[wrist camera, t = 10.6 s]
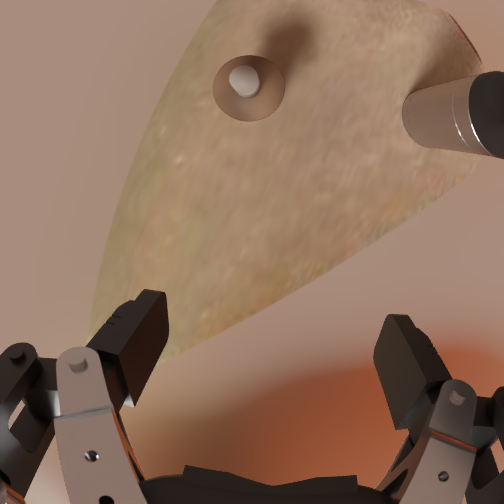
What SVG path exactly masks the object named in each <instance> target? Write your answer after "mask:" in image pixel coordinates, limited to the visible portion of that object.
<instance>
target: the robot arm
mask: <svg viewBox="0 0 504 504" xmlns="http://www.w3.org/2000/svg"><path fill="white" fill-rule="evenodd" d="M402 118H403V122H404V125H405V128H406V130H407V132H408V134H409V135H410V136H411V138H412V139H413V140H414V141H415V142H417V143H418V144H420V145H422V146H424V147H428V148H437V149H444V150H452V151H459V152H466V153H473V154H479V155H485V156H491V157H496V158H501V159H504V72H500V71H493V72H488V73H483V74H479V75H474V76H470V77H466V78H462V79H458V80H454V81H450V82H446V83H442V84H439V85H435V86H431V87H427V88H424V89H421V90H417V91H415V92H413V93H411V94H410V95H409V96H408V97H407V98H406V100H405V102H404V105H403V110H402ZM168 336H169V320H168V309H167V298H166V294H165V292H161V291H155V290H148V289H144V290H143V291H142V292H141V293H140V295H139V296H138V297H137V298H136V299H135V301H133V300H129V301H128V302H126V303H124V304H122V305H121V306H119V307H118V308H117V309H116V310H115V312H114V313H113V314H112V317H111V316H110V318H109V319H108V320H107V321H106V323H104V325H103V326H102V327H101V328H100V329H99V331H98V332H97V333H96V334H95V336H94V337H93V338H92V339H91V340H90V342H89V343H88V344H87V345H86V347H74V348H71V349H68V350H66V351H65V352H63V353H62V354H61V355H60V356H59V358H58V359H52V358H40V357H38V354H37V352H36V350H35V348H34V347H33V346H32V345H31V344H29V343H16V344H14V345H11V346H10V347H8V348H7V349H6V350H5V351H4V352H3V353H2V354H1V355H0V504H26V503H25V500H24V498H25V496H26V493H27V491H28V489H29V487H30V484H31V482H32V480H33V478H34V476H35V474H36V472H37V469H38V467H39V465H40V463H41V461H42V459H43V457H44V455H45V453H46V451H47V449H48V447H49V445H50V443H51V441H52V439H53V437H54V435H56V441H57V447H58V452H59V458H60V463H61V468H62V472H63V476H64V481H65V485H66V489H67V492H68V496H69V499H70V503H71V504H461V502H462V500H463V497H464V494H465V497H466V501H467V504H504V470H503V471H502V472H501V473H500V474H499V472H498V468H497V465H496V463H495V460H494V457H493V454H492V451H491V448H490V447H491V446H492V445H493V444H494V443H495V442H496V441H497V440H498V439H499V440H500V442H501V445H502V448H503V450H504V386H503V387H499V388H498V389H497V390H496V391H495V393H494V394H493V396H492V397H491V398H487V397H480V396H477V395H476V393H475V391H474V390H473V388H472V387H471V386H470V385H469V384H467V383H466V382H463V381H461V380H457V379H452V377H451V375H450V374H449V372H448V370H447V368H446V367H445V364H444V363H443V361H442V359H441V358H440V356H439V355H438V354H437V353H438V352H437V351H436V349H435V347H433V344H432V343H431V341H430V339H429V338H428V336H426V334H424V333H423V332H422V331H421V330H420V329H419V328H416V327H415V325H414V323H413V322H412V320H411V319H410V317H409V316H408V315H399V314H389V315H387V317H386V319H385V321H384V324H383V327H382V330H381V332H380V335H379V338H378V341H377V343H376V346H375V349H374V356H373V359H374V364H375V367H376V370H377V372H378V376H379V379H380V382H381V385H382V388H383V391H384V394H385V397H386V400H387V403H388V407H389V410H390V413H391V416H392V420H393V423H394V427H395V430H401V429H408V431H409V434H408V435H407V436H406V438H405V440H404V442H403V444H402V446H401V448H400V450H399V452H398V453H397V456H396V457H395V459H394V461H393V463H392V465H391V466H390V468H389V470H388V472H387V474H386V475H385V477H384V478H383V480H382V481H381V482H380V483H379V485H378V486H377V487H376V488H375V489H373V488H370V487H366V486H362V485H358V484H357V476H356V475H351V476H339V477H338V476H337V477H316V478H312V479H308V480H303V481H298V482H293V483H288V484H283V485H277V486H270V485H266V484H262V483H259V482H256V481H252V480H249V479H246V478H243V477H240V476H237V475H234V474H231V473H228V472H222V471H215V470H209V469H203V468H198V467H193V466H188V465H185V468H184V471H183V474H175V475H164V476H159V477H155V478H151V479H148V480H147V479H146V477H145V475H144V473H143V471H142V469H141V467H140V465H139V463H138V460H137V458H136V456H135V453H134V451H133V448H132V446H131V443H130V440H129V438H128V435H127V432H126V430H125V427H124V424H123V421H122V418H121V415H120V413H119V411H120V409H121V407H122V405H123V404H124V405H127V406H131V407H135V406H136V403H137V401H138V399H139V397H140V395H141V393H142V391H143V389H144V387H145V385H146V383H147V381H148V379H149V377H150V375H151V373H152V371H153V369H154V367H155V365H156V363H157V361H158V359H159V357H160V355H161V353H162V351H163V349H164V347H165V345H166V343H167V340H168ZM21 400H22V401H23V403H24V404H25V406H24V408H23V409H22V411H21V412H20V414H19V416H18V417H17V419H16V420H15V422H14V423H13V425H12V427H11V428H10V430H9V428H8V420H9V418H10V416H11V414H12V413H13V411H14V410H15V408H16V407H17V405H18V404H19V402H20V401H21Z"/></svg>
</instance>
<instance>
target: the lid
mask: <svg viewBox="0 0 504 504" xmlns="http://www.w3.org/2000/svg"><path fill="white" fill-rule="evenodd" d="M284 92H285V83H284V79H283V76H282V74H281V72H280V70H279V69H278V68H277V67H276V66H275V65H274V64H273V63H272V62H270V61H269V60H267V59H265V58H262V57H259V56H252V55H246V56H240V57H237V58H234V59H232V60H230V61H228V62H227V63H226V64H224V65H223V66H222V67H221V68H220V70H219V71H218V73H217V74H216V76H215V79H214V82H213V95H214V99H215V101H216V103H217V105H218V106H219V108H220V109H221V110H222V111H223V112H224V113H225V114H227V115H228V116H230V117H232V118H234V119H237V120H241V121H257V120H261V119H263V118H266V117H267V116H269V115H271V114H272V113H273V112H274V111H275V110H276V109H277V108H278V107H279V105H280V104H281V102H282V100H283V97H284Z"/></svg>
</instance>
